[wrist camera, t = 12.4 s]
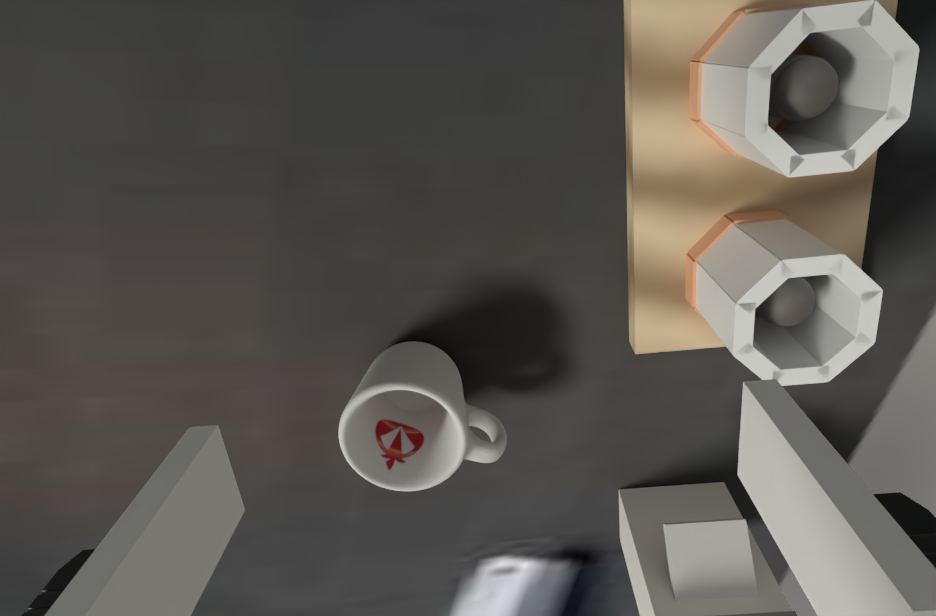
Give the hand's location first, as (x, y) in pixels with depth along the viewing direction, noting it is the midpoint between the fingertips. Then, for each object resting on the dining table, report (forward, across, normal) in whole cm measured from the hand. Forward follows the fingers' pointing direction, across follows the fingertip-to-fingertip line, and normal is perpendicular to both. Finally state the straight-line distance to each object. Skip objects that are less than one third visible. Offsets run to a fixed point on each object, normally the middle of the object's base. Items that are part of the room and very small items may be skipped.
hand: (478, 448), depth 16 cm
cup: (+27, -5, -13) cm, 30 cm away
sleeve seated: (+25, +16, +6) cm, 30 cm away
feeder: (+27, +12, -24) cm, 38 cm away
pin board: (+27, +16, 0) cm, 31 cm away
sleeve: (+25, +16, -6) cm, 30 cm away
